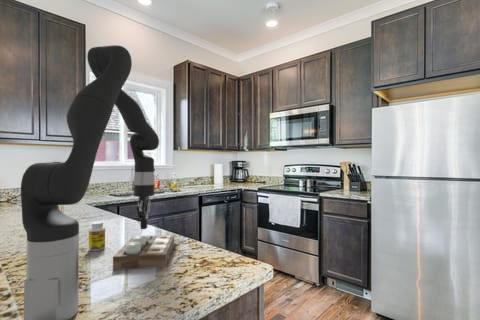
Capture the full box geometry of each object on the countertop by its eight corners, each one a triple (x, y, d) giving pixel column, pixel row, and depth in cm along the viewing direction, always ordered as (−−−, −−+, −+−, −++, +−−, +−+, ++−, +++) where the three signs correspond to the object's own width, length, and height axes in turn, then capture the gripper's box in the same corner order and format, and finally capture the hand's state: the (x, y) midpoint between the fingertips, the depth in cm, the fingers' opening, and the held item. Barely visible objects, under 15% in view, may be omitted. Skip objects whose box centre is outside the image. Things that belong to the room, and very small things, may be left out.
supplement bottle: (89, 252, 97) (89, 225, 97) (88, 248, 102) (88, 222, 102) (106, 249, 100) (106, 223, 100) (104, 246, 105) (104, 220, 105)
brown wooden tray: (165, 266, 83) (165, 253, 84) (112, 269, 81) (112, 255, 81) (174, 244, 106) (174, 233, 106) (133, 246, 104) (133, 235, 104)
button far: (148, 248, 99) (148, 238, 99) (136, 249, 98) (136, 238, 98) (151, 245, 103) (151, 234, 104) (139, 245, 103) (139, 235, 103)
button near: (138, 258, 84) (138, 245, 84) (123, 259, 84) (123, 246, 84) (142, 253, 89) (142, 241, 89) (128, 254, 88) (128, 242, 88)
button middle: (144, 250, 92) (144, 239, 92) (130, 251, 91) (130, 239, 91) (147, 246, 96) (147, 235, 96) (134, 247, 96) (134, 236, 96)
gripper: (150, 184, 95) (150, 232, 95) (157, 182, 108) (157, 224, 108) (129, 184, 94) (128, 233, 94) (138, 182, 107) (138, 225, 107)
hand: (143, 228), depth 101 cm, fingers closed
